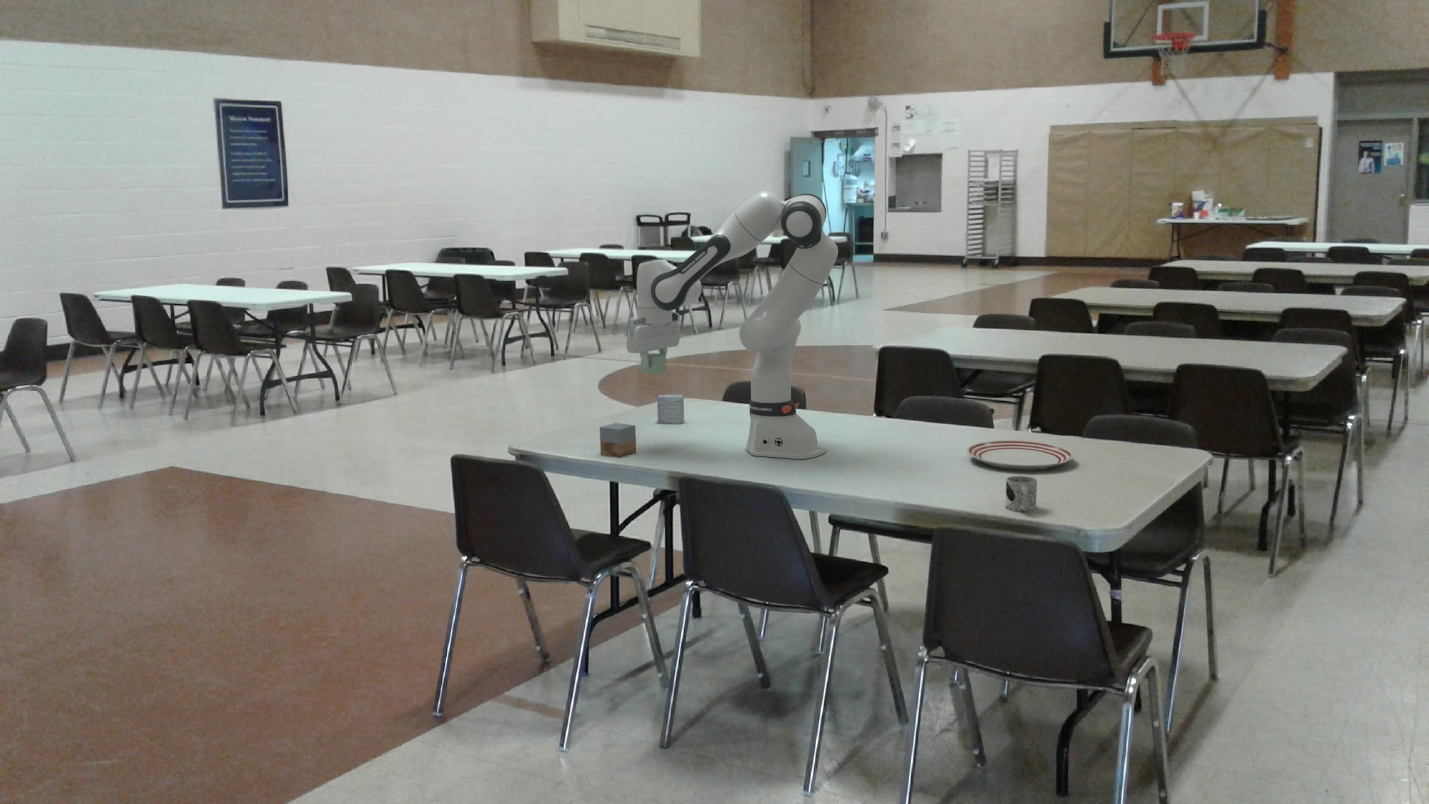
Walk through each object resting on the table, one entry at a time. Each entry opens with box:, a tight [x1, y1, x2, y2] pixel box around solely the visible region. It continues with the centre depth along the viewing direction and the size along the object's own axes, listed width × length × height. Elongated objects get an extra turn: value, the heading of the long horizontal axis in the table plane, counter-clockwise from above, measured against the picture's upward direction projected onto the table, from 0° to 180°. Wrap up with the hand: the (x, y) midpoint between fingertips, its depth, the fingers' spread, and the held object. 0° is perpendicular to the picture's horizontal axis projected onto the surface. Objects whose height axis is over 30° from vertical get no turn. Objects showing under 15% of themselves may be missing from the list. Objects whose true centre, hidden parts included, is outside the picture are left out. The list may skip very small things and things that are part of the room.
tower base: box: [599, 439, 637, 458], centre depth 322 cm, size 7×7×4 cm
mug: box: [1005, 475, 1038, 513], centre depth 259 cm, size 10×7×7 cm, turn 175°
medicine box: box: [656, 394, 685, 425], centre depth 366 cm, size 8×4×9 cm, turn 84°
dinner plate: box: [966, 439, 1075, 471], centre depth 306 cm, size 27×27×3 cm
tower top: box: [599, 422, 637, 444], centre depth 322 cm, size 7×7×4 cm
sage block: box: [640, 352, 667, 375], centre depth 327 cm, size 5×5×5 cm
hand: (653, 365), depth 327 cm, fingers closed on sage block, 5 cm apart
